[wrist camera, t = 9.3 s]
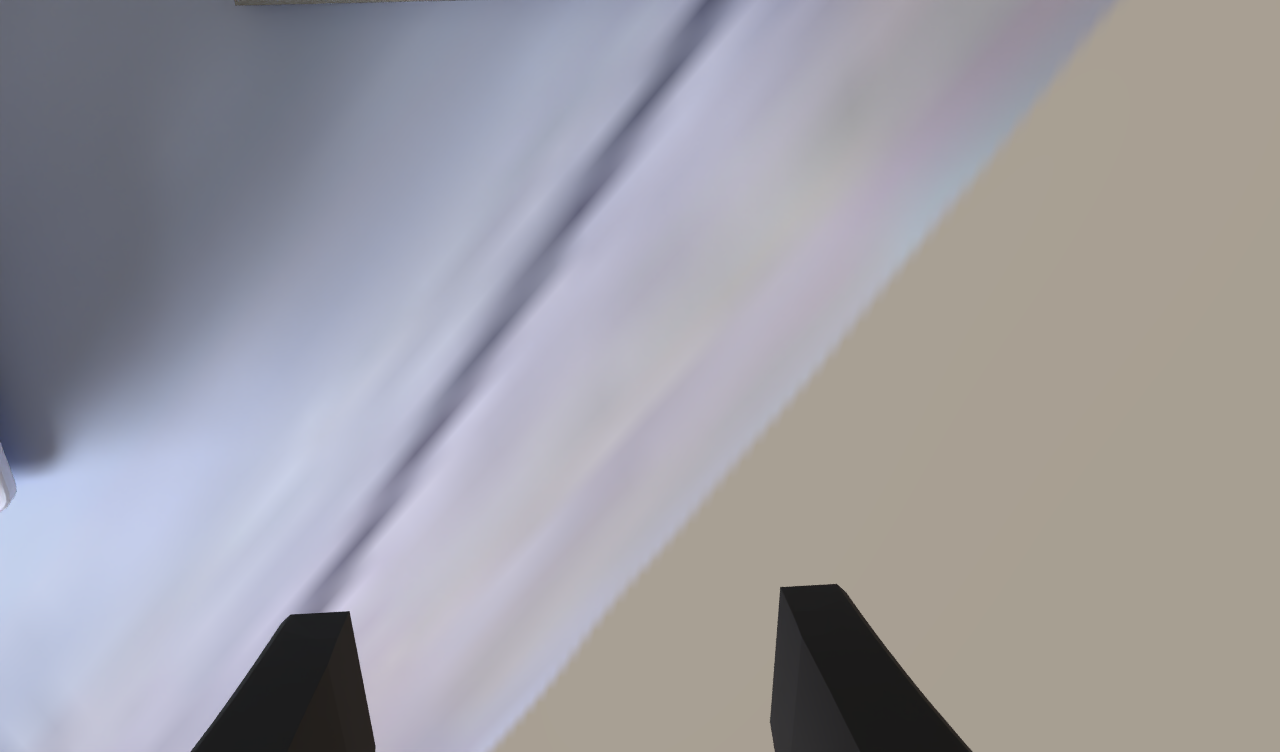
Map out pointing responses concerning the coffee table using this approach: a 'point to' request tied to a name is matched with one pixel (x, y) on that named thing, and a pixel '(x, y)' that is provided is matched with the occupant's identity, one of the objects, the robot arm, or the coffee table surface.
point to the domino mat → (315, 1)
